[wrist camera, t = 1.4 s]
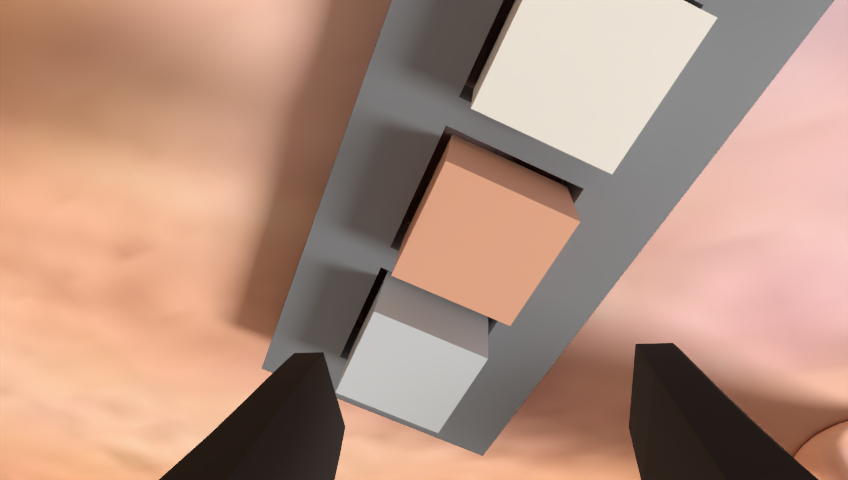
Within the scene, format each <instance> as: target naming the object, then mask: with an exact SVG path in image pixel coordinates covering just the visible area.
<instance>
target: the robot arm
mask: <svg viewBox="0 0 848 480" xmlns="http://www.w3.org/2000/svg"><path fill="white" fill-rule="evenodd" d="M629 429H630V434H631V438H632V443H633V447H634V451H635V456H636V460H637V464H638V468H639V472H640V477H641V480H819V479H817V478H816V477H815V476H814V475H813V474H811V473H810V472H809V471H808V470H807V469H806V468H805V467H803V466H802V465H801V464H800V463H799V462H798V461H797V460H796V459H794V458H793V457H792V456H791V455H790V454H789V453H788V452H786V451H785V450H784V449H783V448H782V447H781V446H780V445H779V444H778V443H777V442H776V441H774V440H773V439H772V438H771V437H770V436H769V435H768V434H767V433H766V432H765V431H763V430H762V429H761V428H760V427H759V426H758V425H757V424H756V423H755V422H754V421H753V420H751V419H750V418H749V417H748V416H747V415H746V414H745V413H744V412H743V411H742V410H741V409H740V408H739V407H738V406H737V405H736V404H735V403H734V402H733V401H732V400H730V399H729V398H728V397H727V396H726V395H725V394H724V393H723V392H722V391H721V390H720V389H719V388H718V387H717V386H716V385H715V384H714V383H713V382H712V381H711V380H710V379H709V378H708V377H707V376H706V375H705V374H704V373H703V372H702V371H701V370H700V369H699V368H698V367H697V366H696V365H695V364H694V363H693V362H692V361H691V360H690V359H689V358H688V357H687V356H686V355H685V354H684V353H683V352H682V351H681V350H680V349H679V348H678V347H677V346H676V345H674V344H673V343H660V344H636V348H635V360H634V372H633V384H632V396H631V409H630V421H629ZM344 430H345V425H344V422H343V418H342V415H341V411H340V408H339V404H338V401H337V397H336V394H335V390H334V387H333V383H332V380H331V377H330V373H329V370H328V366H327V363H326V359H325V356H324V352H314V353H294V354H293V355H292V356H290V357H289V358H288V359H287V360H286V361H285V362H284V363H283V364H282V365H281V366H280V367H279V368H278V369H277V370H276V371H275V372H274V373H273V374H272V375H271V376H269V377H268V378H267V379H266V380H265V381H264V382H263V383H262V384H261V385H260V386H259V387H258V388H257V389H256V390H255V391H254V392H253V393H252V394H251V395H250V396H249V397H248V398H247V399H246V400H245V401H244V402H243V403H242V404H241V405H240V406H239V407H238V408H237V409H236V410H235V411H234V412H233V413H232V414H231V415H229V416H228V417H227V418H226V419H225V420H224V421H223V422H222V423H221V424H220V425H219V426H218V427H217V428H216V429H215V430H214V431H213V432H212V433H211V434H210V435H209V436H207V437H206V438H205V439H204V440H203V441H202V442H201V443H200V444H199V445H197V446H196V447H195V448H194V449H193V450H192V451H191V452H190V453H188V454H187V455H186V456H185V457H184V458H183V459H182V460H181V461H179V462H178V463H177V464H176V465H175V466H174V467H173V468H172V469H170V470H169V471H168V472H167V473H166V474H165V475H164V476H163V477H162V478H160V479H159V480H334V479H335V475H336V470H337V465H338V461H339V456H340V451H341V446H342V440H343V435H344Z"/></svg>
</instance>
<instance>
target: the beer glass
mask: <svg viewBox="0 0 848 480" xmlns="http://www.w3.org/2000/svg"><path fill="white" fill-rule="evenodd" d="M794 459H796V460H797V461H798V462H799V463H800V464H801V465H802V466H803V467H805V468H806V469H807V470H808V471H809V472H810V473H811V474H813V475H814V476H815V477H816V478H817V479H819V480H848V421H845V422H842V423H839V424H837V425H834V426H832V427H830V428H828V429H826V430H824V431H822V432H820V433H818V434H817V435H815V436H814V437H812V438H811V439H810V440H808V441H807V442H806V443H805V444H804V445H803V446H802V447H801V448H800V449H799V451H798V452H797V453H796V455H795V457H794Z"/></svg>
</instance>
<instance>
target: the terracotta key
mask: <svg viewBox="0 0 848 480" xmlns="http://www.w3.org/2000/svg"><path fill="white" fill-rule="evenodd" d="M579 223H580V219H579V217H578V214H577V211H576V209H575V206H574V203H573V201H572V198H571V195H570V192H569V190H568V187H566V186H564V185H562V184H560V183H558V182H555V181H553V180H551V179H549V178H547V177H545V176H542V175H540V174H538V173H536V172H534V171H532V170H529V169H527V168H525V167H523V166H521V165H518V164H516V163H514V162H512V161H510V160H508V159H505V158H503V157H501V156H499V155H497V154H495V153H492V152H490V151H488V150H486V149H484V148H481V147H479V146H477V145H475V144H473V143H471V142H468V141H466V140H464V139H462V138H460V137H458V136H455V135H453V134H452V135H451V137H450V140H449V142H448V144H447V146H446V148H445V150H444V152H443V155H442V157H441V159H440V161H439V163H438V165H437V167H436V169H435V172H434V174H433V176H432V178H431V180H430V182H429V184H428V186H427V189H426V191H425V193H424V195H423V197H422V199H421V201H420V203H419V206H418V208H417V210H416V212H415V214H414V216H413V218H412V221H411V223H410V225H409V227H408V229H407V231H406V233H405V235H404V238H403V241H402V244H401V247H400V250H399V253H398V256H397V259H396V262H395V265H394V268H393V271H392V274H391V276H393V277H396V278H398V279H400V280H403V281H405V282H407V283H410V284H412V285H415V286H417V287H419V288H422V289H424V290H426V291H429V292H431V293H433V294H436V295H438V296H440V297H443V298H445V299H447V300H450V301H452V302H455V303H457V304H459V305H462V306H464V307H466V308H469V309H471V310H473V311H476V312H478V313H480V314H483V315H485V316H487V317H490V318H492V319H495V320H497V321H499V322H502V323H504V324H506V325H509V326H511V324H512V323H513V321H514V320H515V318H516V317H517V315H518V314H519V312H520V311H521V309H522V308H523V306H524V305H525V303H526V302H527V300H528V299H529V297H530V296H531V294H532V293H533V291H534V290H535V289H536V287H537V286H538V284H539V283H540V281H541V280H542V278H543V277H544V275H545V274H546V272H547V271H548V269H549V268H550V266H551V265H552V263H553V262H554V260H555V259H556V257H557V256H558V254H559V253H560V251H561V250H562V248H563V247H564V245H565V244H566V242H567V241H568V239H569V238H570V236H571V235H572V234H573V232H574V231H575V229H576V228H577V226H578V225H579Z"/></svg>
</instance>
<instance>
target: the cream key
mask: <svg viewBox="0 0 848 480" xmlns="http://www.w3.org/2000/svg"><path fill="white" fill-rule="evenodd" d="M716 19H717V17H715V16H713V15H711V14H709V13H708V12H706V11H704V10H702V9H700V8H698V7H696V6H694V5H692V4H690V3H688V2H686V1H684V0H515V1H514V3H513V5H512V8H511V10H510V12H509V14H508V16H507V18H506V20H505V22H504V25H503V27H502V29H501V31H500V33H499V35H498V37H497V40H496V42H495V44H494V46H493V48H492V50H491V52H490V54H489V57H488V59H487V61H486V63H485V65H484V67H483V69H482V71H481V74H480V76H479V78H478V80H477V82H476V84H475V86H474V89H473V96H472V103H471V109H473V110H475V111H477V112H479V113H481V114H484V115H486V116H488V117H490V118H492V119H494V120H496V121H499V122H501V123H503V124H505V125H507V126H509V127H511V128H514V129H516V130H518V131H520V132H522V133H524V134H526V135H529V136H531V137H533V138H535V139H537V140H539V141H541V142H544V143H546V144H548V145H550V146H552V147H554V148H556V149H559V150H561V151H563V152H565V153H567V154H569V155H571V156H574V157H576V158H578V159H580V160H582V161H584V162H586V163H589V164H591V165H593V166H595V167H597V168H599V169H601V170H604V171H606V172H608V173H610V174H613V173H614V171H615V170H616V168H617V167H618V165H619V164H620V162H621V161H622V159H623V158H624V156H625V155H626V153H627V152H628V150H629V149H630V147H631V146H632V144H633V143H634V141H635V140H636V138H637V137H638V135H639V134H640V132H641V131H642V129H643V128H644V126H645V125H646V124H647V122H648V121H649V119H650V118H651V116H652V115H653V113H654V112H655V110H656V109H657V107H658V106H659V104H660V103H661V101H662V100H663V98H664V97H665V95H666V94H667V92H668V91H669V89H670V88H671V86H672V85H673V83H674V82H675V80H676V79H677V77H678V76H679V74H680V73H681V71H682V70H683V69H684V67H685V66H686V64H687V63H688V61H689V60H690V58H691V57H692V55H693V54H694V52H695V51H696V49H697V48H698V46H699V45H700V43H701V42H702V40H703V39H704V37H705V36H706V34H707V33H708V31H709V30H710V28H711V27H712V25H713V24H714V22H715V21H716Z"/></svg>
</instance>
